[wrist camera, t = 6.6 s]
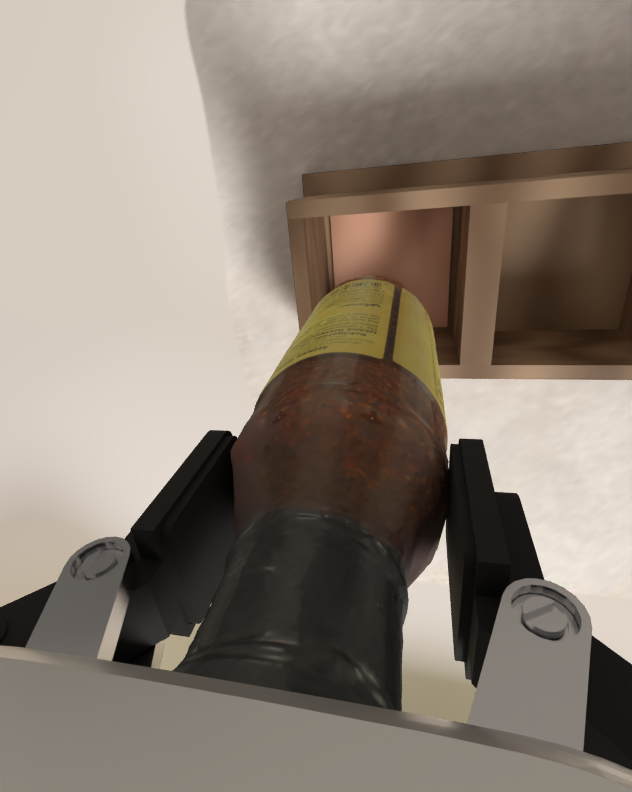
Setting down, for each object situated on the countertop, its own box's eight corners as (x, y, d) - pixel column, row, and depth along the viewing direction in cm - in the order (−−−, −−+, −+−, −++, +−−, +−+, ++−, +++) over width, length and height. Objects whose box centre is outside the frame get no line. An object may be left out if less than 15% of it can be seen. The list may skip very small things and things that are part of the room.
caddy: (680, 137, 28) (769, 126, 21) (626, 353, 35) (679, 401, 28) (305, 174, 34) (274, 176, 27) (321, 355, 40) (300, 394, 33)
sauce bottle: (297, 351, 24) (-17, 797, 7) (346, 247, 21) (-6, 595, 4) (401, 405, 24) (338, 973, 7) (465, 309, 21) (622, 913, 4)
